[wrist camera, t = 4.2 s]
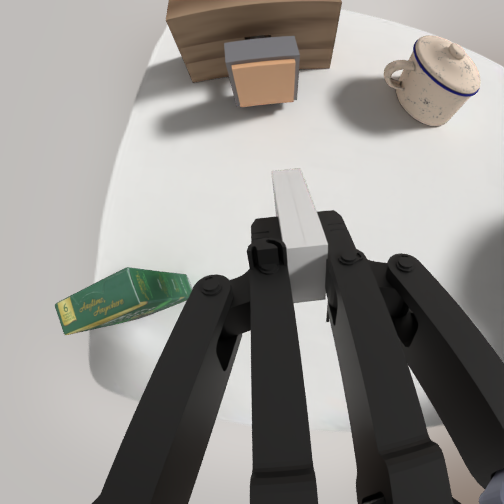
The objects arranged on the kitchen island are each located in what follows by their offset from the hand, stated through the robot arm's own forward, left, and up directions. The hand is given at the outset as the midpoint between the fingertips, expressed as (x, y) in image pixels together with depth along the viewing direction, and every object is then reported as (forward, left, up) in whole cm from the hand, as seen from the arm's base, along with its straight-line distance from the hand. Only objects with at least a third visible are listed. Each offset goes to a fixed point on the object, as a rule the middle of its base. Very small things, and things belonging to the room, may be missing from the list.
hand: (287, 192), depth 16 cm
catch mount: (+25, 0, -16) cm, 30 cm away
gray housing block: (+19, 0, -14) cm, 24 cm away
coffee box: (-5, +14, -16) cm, 22 cm away
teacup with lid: (+17, -20, -16) cm, 31 cm away
